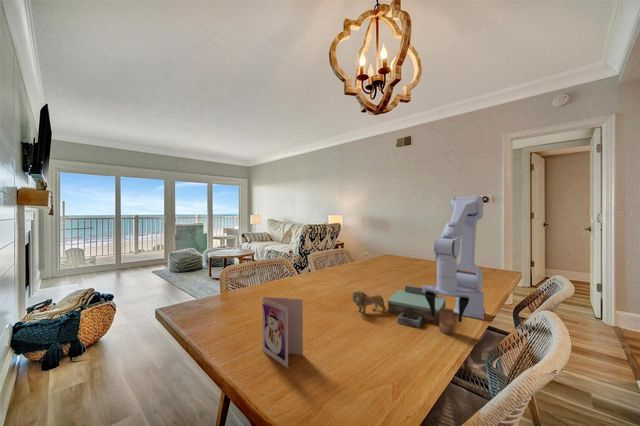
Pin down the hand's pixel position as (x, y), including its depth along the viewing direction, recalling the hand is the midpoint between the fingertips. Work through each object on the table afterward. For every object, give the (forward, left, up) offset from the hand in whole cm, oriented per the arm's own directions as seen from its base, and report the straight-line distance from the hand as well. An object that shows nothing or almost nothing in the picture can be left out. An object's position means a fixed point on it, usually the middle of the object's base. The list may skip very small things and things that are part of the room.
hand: (446, 318), depth 83 cm
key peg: (0, 0, -4) cm, 4 cm away
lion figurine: (+27, -1, -5) cm, 27 cm away
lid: (+11, -12, 0) cm, 16 cm away
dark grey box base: (+12, -9, -4) cm, 15 cm away
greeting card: (+36, +38, -5) cm, 52 cm away
